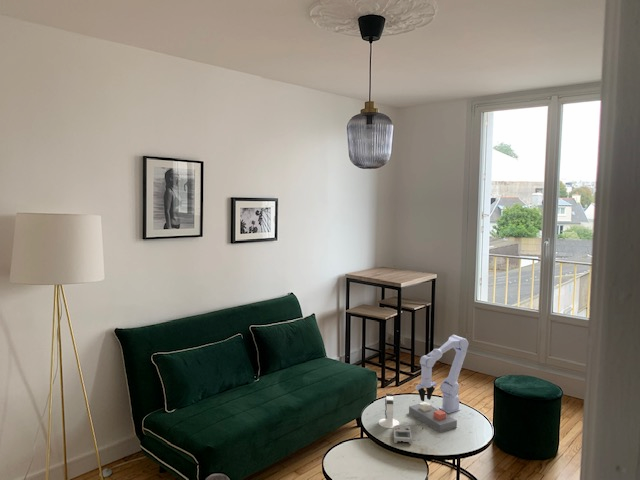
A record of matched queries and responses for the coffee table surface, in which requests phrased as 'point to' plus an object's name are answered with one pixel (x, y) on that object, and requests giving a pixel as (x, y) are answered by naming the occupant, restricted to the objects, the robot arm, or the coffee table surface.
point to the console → (430, 420)
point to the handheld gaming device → (402, 433)
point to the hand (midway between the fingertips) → (425, 399)
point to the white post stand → (388, 413)
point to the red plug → (439, 415)
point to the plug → (425, 406)
